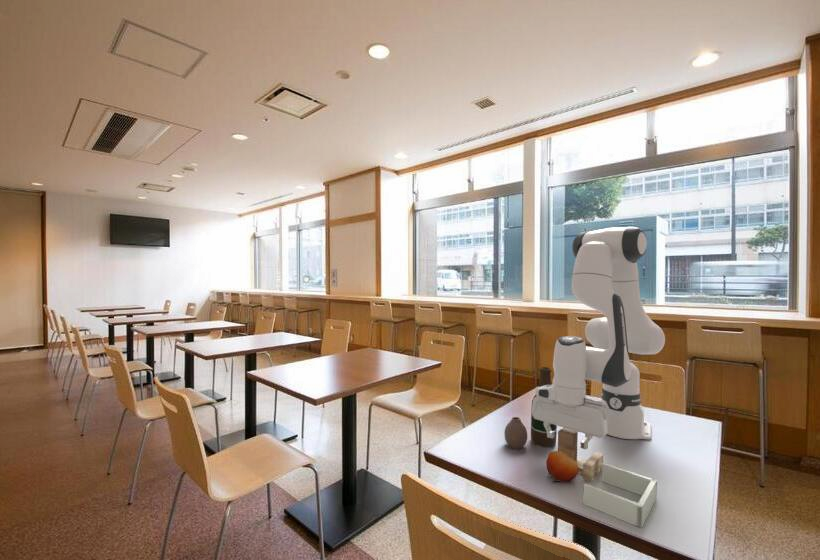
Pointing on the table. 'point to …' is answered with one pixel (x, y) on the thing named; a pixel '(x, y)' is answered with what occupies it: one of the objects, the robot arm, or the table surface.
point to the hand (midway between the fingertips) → (566, 442)
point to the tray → (620, 505)
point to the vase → (515, 433)
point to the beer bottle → (538, 426)
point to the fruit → (561, 467)
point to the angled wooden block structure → (569, 446)
